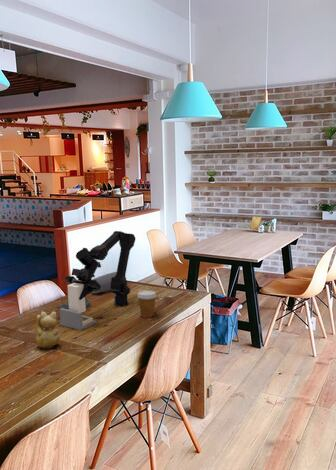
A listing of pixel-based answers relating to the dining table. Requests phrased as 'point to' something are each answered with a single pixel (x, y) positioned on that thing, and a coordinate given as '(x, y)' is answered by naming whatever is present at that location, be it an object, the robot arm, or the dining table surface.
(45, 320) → the decorative figurine
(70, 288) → the white cabinet
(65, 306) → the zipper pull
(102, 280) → the bluetooth speaker
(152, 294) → the disposable coffee cup
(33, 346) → the dining table surface
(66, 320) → the board
